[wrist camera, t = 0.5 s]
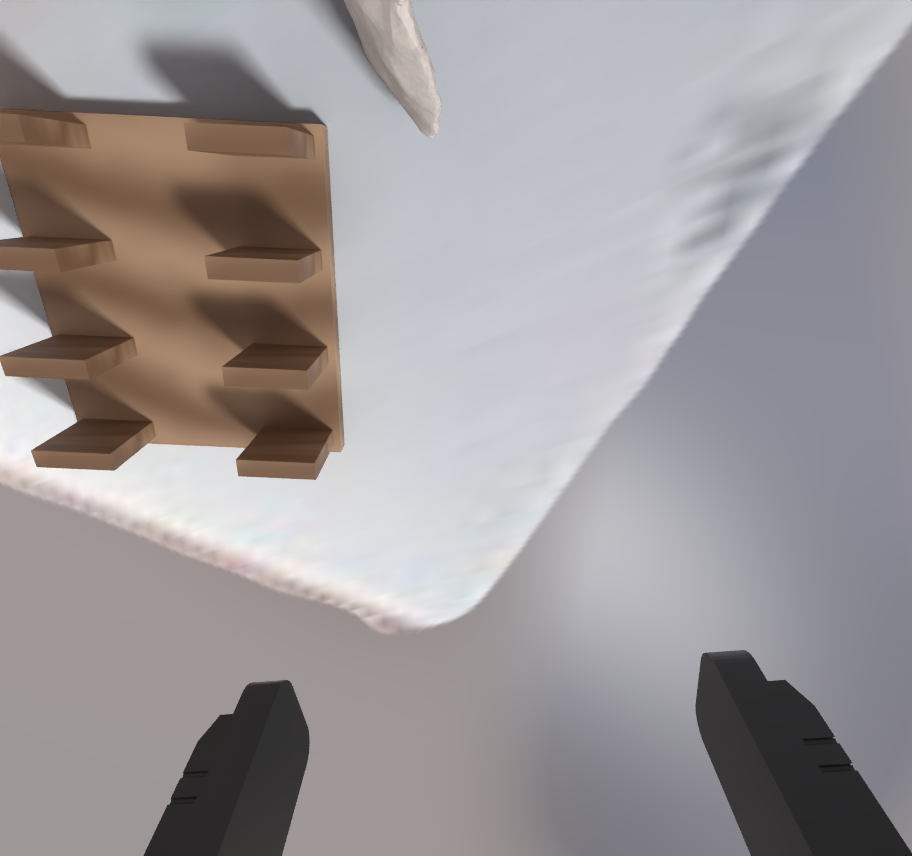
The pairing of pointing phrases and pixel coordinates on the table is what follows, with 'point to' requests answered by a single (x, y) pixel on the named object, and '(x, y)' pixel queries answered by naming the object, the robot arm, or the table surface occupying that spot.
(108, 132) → the drying rack
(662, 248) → the table surface
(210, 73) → the table surface
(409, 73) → the stone tool
